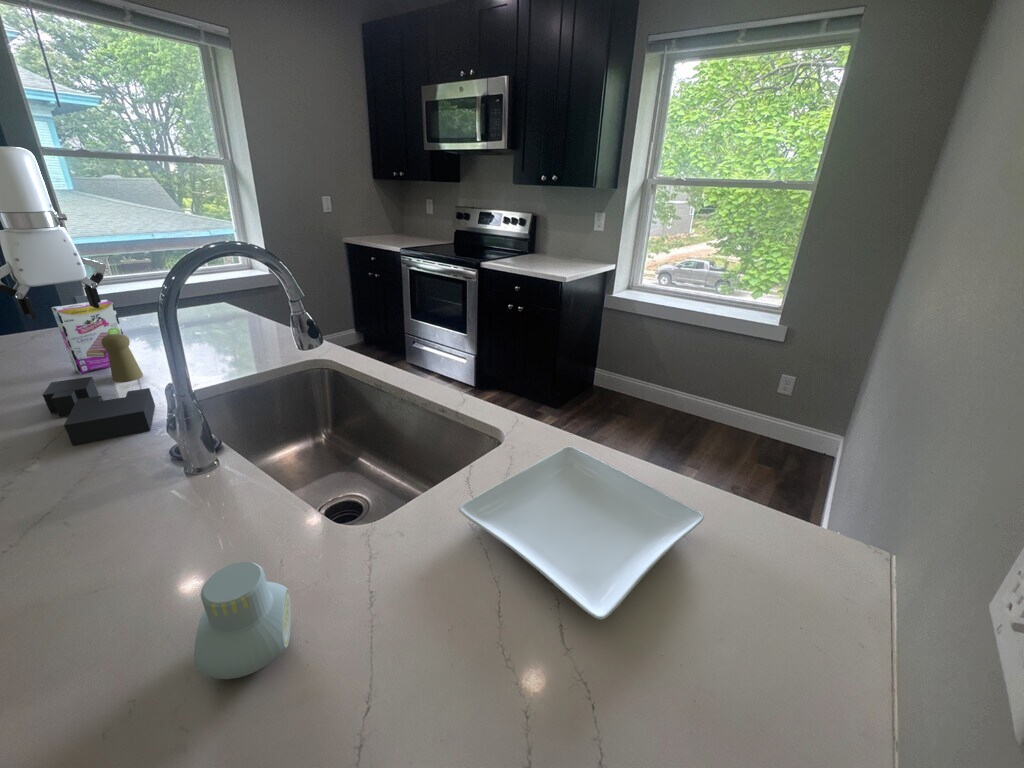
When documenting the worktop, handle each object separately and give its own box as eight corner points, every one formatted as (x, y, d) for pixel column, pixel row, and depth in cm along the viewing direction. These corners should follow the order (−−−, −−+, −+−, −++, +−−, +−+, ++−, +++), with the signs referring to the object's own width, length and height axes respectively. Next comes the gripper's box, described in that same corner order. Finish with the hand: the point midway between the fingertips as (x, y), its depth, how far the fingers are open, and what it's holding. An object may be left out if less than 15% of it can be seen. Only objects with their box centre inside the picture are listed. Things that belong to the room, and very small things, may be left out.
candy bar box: (80, 375, 116) (55, 311, 109) (74, 369, 119) (49, 307, 112) (133, 362, 124) (113, 301, 118) (126, 357, 127) (106, 298, 120)
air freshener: (288, 678, 50) (270, 613, 46) (199, 704, 47) (171, 637, 43) (294, 597, 59) (280, 537, 55) (220, 614, 57) (199, 553, 52)
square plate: (703, 532, 72) (708, 512, 71) (597, 643, 55) (601, 620, 53) (568, 458, 90) (569, 440, 88) (455, 524, 72) (455, 504, 71)
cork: (140, 370, 120) (127, 329, 115) (145, 377, 116) (131, 335, 111) (110, 376, 116) (95, 334, 111) (114, 384, 112) (98, 341, 107)
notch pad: (72, 445, 88) (63, 425, 86) (85, 418, 97) (77, 399, 95) (150, 430, 94) (143, 411, 92) (155, 406, 103) (149, 387, 101)
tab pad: (47, 419, 96) (38, 400, 94) (58, 400, 104) (50, 382, 102) (90, 412, 100) (83, 393, 98) (98, 394, 107) (92, 376, 105)
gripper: (82, 217, 94) (110, 300, 101) (-44, 223, 81) (-1, 318, 88) (96, 220, 90) (124, 306, 97) (-34, 227, 77) (10, 326, 84)
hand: (65, 312), depth 93 cm, fingers open, 9 cm apart
